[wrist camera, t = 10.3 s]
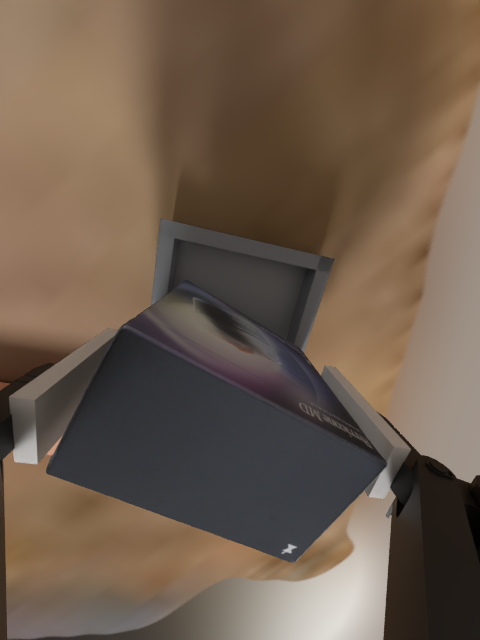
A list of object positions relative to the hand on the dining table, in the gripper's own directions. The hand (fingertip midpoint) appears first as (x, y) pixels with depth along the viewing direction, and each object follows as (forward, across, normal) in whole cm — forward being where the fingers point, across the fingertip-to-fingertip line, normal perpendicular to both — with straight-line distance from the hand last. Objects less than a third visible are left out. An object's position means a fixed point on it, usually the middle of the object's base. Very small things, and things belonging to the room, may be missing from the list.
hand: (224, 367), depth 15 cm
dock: (+6, 0, -2) cm, 7 cm away
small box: (+3, 0, 0) cm, 3 cm away
